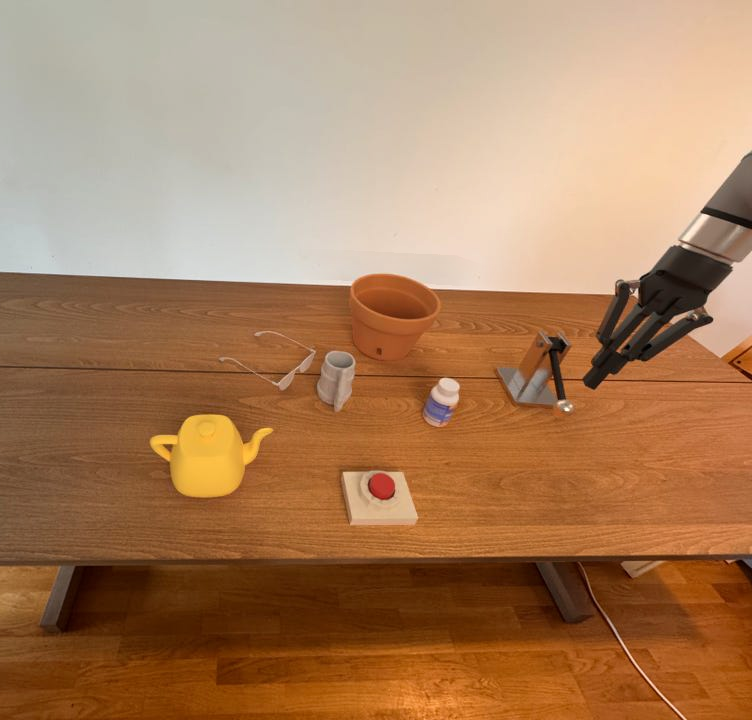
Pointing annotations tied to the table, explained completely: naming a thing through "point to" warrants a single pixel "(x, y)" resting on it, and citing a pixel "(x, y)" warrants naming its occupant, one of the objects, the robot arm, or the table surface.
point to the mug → (336, 378)
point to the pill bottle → (441, 402)
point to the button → (381, 486)
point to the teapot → (208, 455)
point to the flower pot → (390, 314)
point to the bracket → (533, 374)
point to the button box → (377, 501)
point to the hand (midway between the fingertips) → (588, 384)
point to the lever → (559, 382)
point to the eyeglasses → (289, 377)
